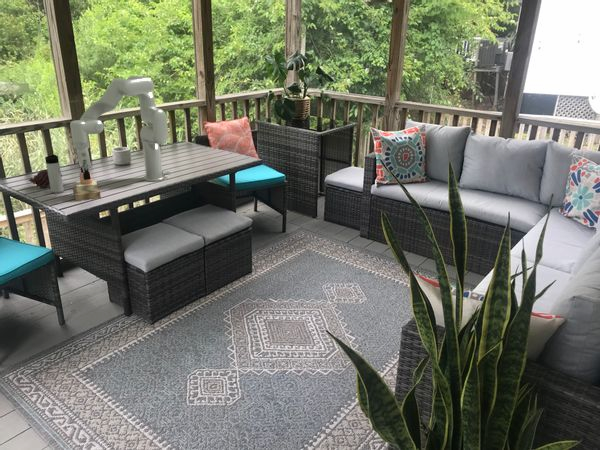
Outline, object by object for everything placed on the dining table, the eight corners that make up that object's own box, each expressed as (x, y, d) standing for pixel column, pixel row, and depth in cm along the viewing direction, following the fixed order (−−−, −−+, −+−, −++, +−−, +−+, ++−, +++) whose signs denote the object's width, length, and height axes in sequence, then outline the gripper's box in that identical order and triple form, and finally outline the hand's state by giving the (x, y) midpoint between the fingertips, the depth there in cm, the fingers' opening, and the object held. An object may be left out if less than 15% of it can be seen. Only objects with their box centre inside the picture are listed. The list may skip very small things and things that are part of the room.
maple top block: (97, 186, 263) (96, 179, 262) (98, 191, 255) (97, 184, 253) (77, 188, 260) (75, 181, 258) (77, 193, 251) (76, 186, 250)
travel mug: (66, 190, 267) (60, 154, 259) (61, 193, 261) (54, 157, 253) (54, 189, 266) (48, 154, 259) (49, 193, 260) (42, 157, 253)
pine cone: (59, 181, 281) (56, 164, 277) (67, 185, 275) (65, 168, 271) (27, 188, 268) (24, 170, 264) (35, 192, 262) (32, 174, 258)
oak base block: (97, 192, 266) (96, 185, 264) (100, 199, 256) (99, 191, 255) (73, 195, 260) (72, 188, 259) (76, 202, 251) (75, 195, 249)
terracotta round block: (91, 180, 259) (90, 171, 257) (92, 183, 255) (91, 174, 253) (80, 181, 257) (78, 172, 255) (81, 184, 252) (79, 175, 250)
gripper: (91, 147, 243) (96, 180, 250) (86, 141, 257) (91, 172, 263) (75, 149, 240) (80, 182, 246) (71, 142, 254) (76, 173, 260)
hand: (86, 177), depth 255 cm, fingers open, 9 cm apart
